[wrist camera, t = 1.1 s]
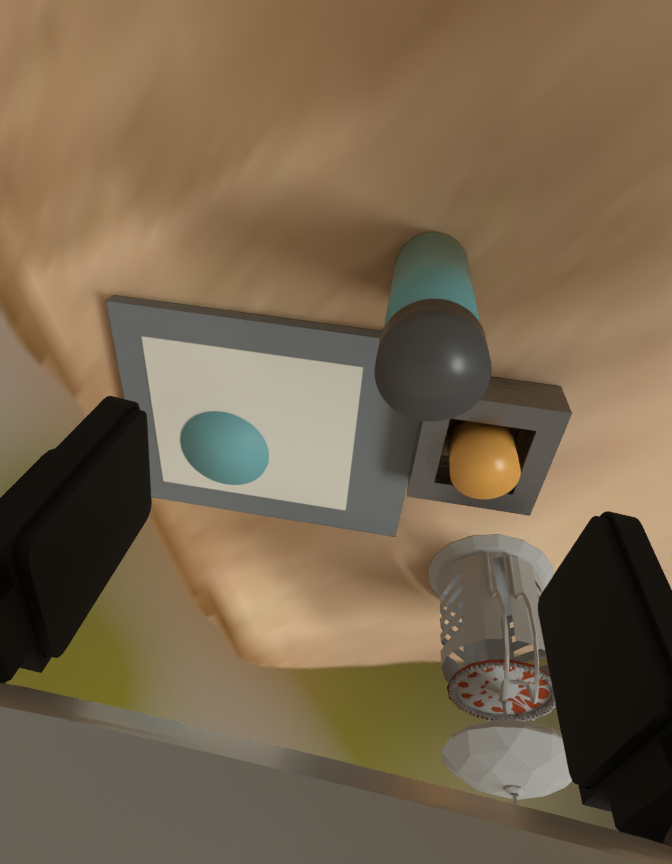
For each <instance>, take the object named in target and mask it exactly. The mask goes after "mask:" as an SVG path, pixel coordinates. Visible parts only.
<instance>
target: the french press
mask: <svg viewBox="0 0 672 864" xmlns="http://www.w3.org/2000/svg"><path fill="white" fill-rule="evenodd" d="M428 577H429V582H430V587H431V588H432V590H433V591H434V592H435V593H436V594H437V596H438V597H439V598H440V599H441V601H442V602H441V604H440V613H441V614H442V617H441V619H440V624H441V628H442V630H443V631H442V633H441V634H440V636H441V643H442V644H443V645H444V647H443V648H442V650H441V664H442V670H443V673H444V677H445V679H446V681H447V682H448V683H449V684H448V686H447V689H448V694H449V699H451V700H452V702H453V703H454V704H455V705H456V706H457V707H458V708H459V709H460V710H463V711H465V712H466V713H467V714H471V716H472V715H473V716H474V717H479V719H480V718H483V719H484V720H485V719H487V720H489V722H484V723H479V724H475V725H471V726H469V727H467V728H465V729H463V730H461V731H459V732H457V733H455V734H453V735H452V737H451V738H450V739H449V740H448V742H447V743H446V745H445V746H444V748H443V749H442V751H441V752H442V757H443V762H444V764H445V765H446V766H447V767H448V768H449V769H450V770H451V771H452V772H453V773H454V774H455V775H456V776H457V777H459V778H460V779H462V780H463V781H465V782H466V783H468V784H469V785H471V786H472V787H473V788H475V789H476V790H478V791H482V792H485V793H489V794H493V795H497V796H502V797H506V798H511V799H513V804H516V805H518V804H517V799H525V798H534V797H541V796H546V795H548V794H551V793H553V792H555V791H558V790H560V789H563V788H565V787H566V786H567V785H568V784H569V783H570V782H572V779H571V777H570V774H569V770H568V765H567V760H566V755H565V750H564V745H563V739H562V734H561V733H559V732H557V731H555V730H553V729H552V728H550V727H546V726H542V725H537V724H534V723H529V722H526V720H527V721H529V720H531V719H532V720H533V721H534V720H535V719H536V718H539V717H541V716H543V715H546V714H547V713H550V712H551V711H552V710H553V709H554V708H555V706H556V703H555V698H554V693H553V688H552V683H551V678H550V672H549V667H548V665H546V666H541V667H539V658H543V657H546V652H545V647H544V641H543V636H542V631H541V626H540V621H539V616H538V601H539V598H540V595H541V594H542V592H543V591H544V589H545V588H546V586H547V585H548V583H549V581H550V580H551V578H552V577H553V566H552V565H551V563H550V562H549V560H548V559H547V557H546V556H545V554H544V553H543V552H542V551H541V550H539V549H537V548H536V547H534V546H532V545H531V544H529V543H528V542H526V541H524V540H521V539H517V538H512V537H508V536H503V535H499V534H496V535H476V536H470V537H467V538H464V539H461V540H459V541H456V542H453V543H450V544H449V545H447V546H446V547H445V548H444V549H442V550H441V551H440V552H439V553H438V554H436V555H435V556H434V558H433V560H432V562H431V565H430V567H429V569H428ZM445 605H446V606H447V607H448V609H447V610H446V611H445V610H444V609H443V607H444V606H445ZM452 611H453V612H454V613H456V615H455V616H454V617H452V616H451V615H450V613H451V612H452ZM461 618H462V623H460V622H459V620H460V619H461ZM446 619H447V620H448V621H449V623H448V624H447V625H446V624H445V623H444V621H445V620H446ZM511 622H513V625H514V627H513V628H511V629H510V624H509V623H511ZM454 625H455V626H456V627H457V628H459V629H458V630H457V631H456V632H455V631H453V630H452V628H453V626H454ZM447 633H448V634H449V635H450V636H451V638H450V639H449V640H447V639H446V638H444V637H445V636H446V635H447ZM514 635H515V638H516V640H518V641H516V642H514V643H512V638H511V637H512V636H514ZM530 644H533V645H534V651H531V652H528V653H525V654H523V655H520V656H518V657H516V658H514V652H513V651H515V650H518V649H520V648H522V647H524V646H527V645H530ZM461 646H463V647H464V652H463V651H461V650H460V649H459V647H461ZM538 647H539V648H541V649H538ZM452 652H454V653H455V654H456V655H457V656H459V657H460V658H461V659H463V660H464V664H465V667H462V666H461V665H460V664H458V663H457V662H456V661H454V660H453V659H451V658H450V657H449V655H450V654H451V653H452ZM530 660H534V664H535V666H534V665H532V664H528V663H525V662H528V661H530ZM490 720H492V721H490Z"/></svg>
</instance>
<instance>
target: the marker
mask: <svg viewBox="0 0 672 864" xmlns="http://www.w3.org/2000/svg"><path fill="white" fill-rule="evenodd" d="M374 374H375V381H376V385H377V388H378V391H379V393H380V394H381V396H382V398H383V399H384V400H385V402H386V403H387V404H388V405H389V406H390V407H391V408H393V409H394V410H395V411H397V412H398V413H400V414H402V415H404V416H406V417H408V418H411V419H414V420H419V421H427V422H436V421H444V420H448V419H452V418H454V417H457V416H459V415H461V414H463V413H465V412H467V411H468V410H470V409H471V408H472V407H473V406H475V405H476V404H477V403H478V401H479V400H480V399H481V398H482V396H483V395H484V393H485V392H486V390H487V388H488V385H489V382H490V378H491V361H490V356H489V351H488V346H487V341H486V337H485V333H484V330H483V328H482V325H481V324H480V320H479V315H478V310H477V305H476V300H475V295H474V290H473V285H472V280H471V274H470V269H469V264H468V259H467V255H466V253H465V251H464V249H463V247H462V246H461V245H460V243H459V242H457V241H456V240H455V239H454V238H452V237H451V236H449V235H446V234H443V233H438V232H429V233H424V234H421V235H418V236H416V237H414V238H412V239H411V240H410V241H408V242H407V243H406V244H405V245H404V246H403V248H402V249H401V251H400V252H399V254H398V256H397V259H396V262H395V268H394V273H393V279H392V285H391V291H390V297H389V302H388V308H387V314H386V320H385V326H384V329H383V331H382V333H381V336H380V341H379V346H378V351H377V357H376V362H375V371H374Z"/></svg>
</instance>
